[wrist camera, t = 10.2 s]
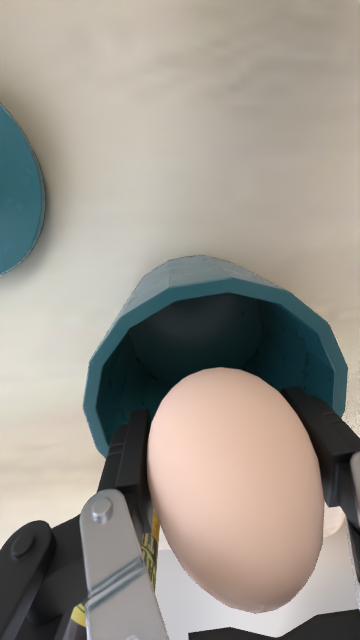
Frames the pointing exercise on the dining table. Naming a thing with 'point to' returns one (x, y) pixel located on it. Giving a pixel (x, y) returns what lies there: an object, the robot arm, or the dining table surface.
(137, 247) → the dining table surface
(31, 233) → the pot lid
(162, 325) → the pot
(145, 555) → the sauce bottle
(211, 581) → the egg
